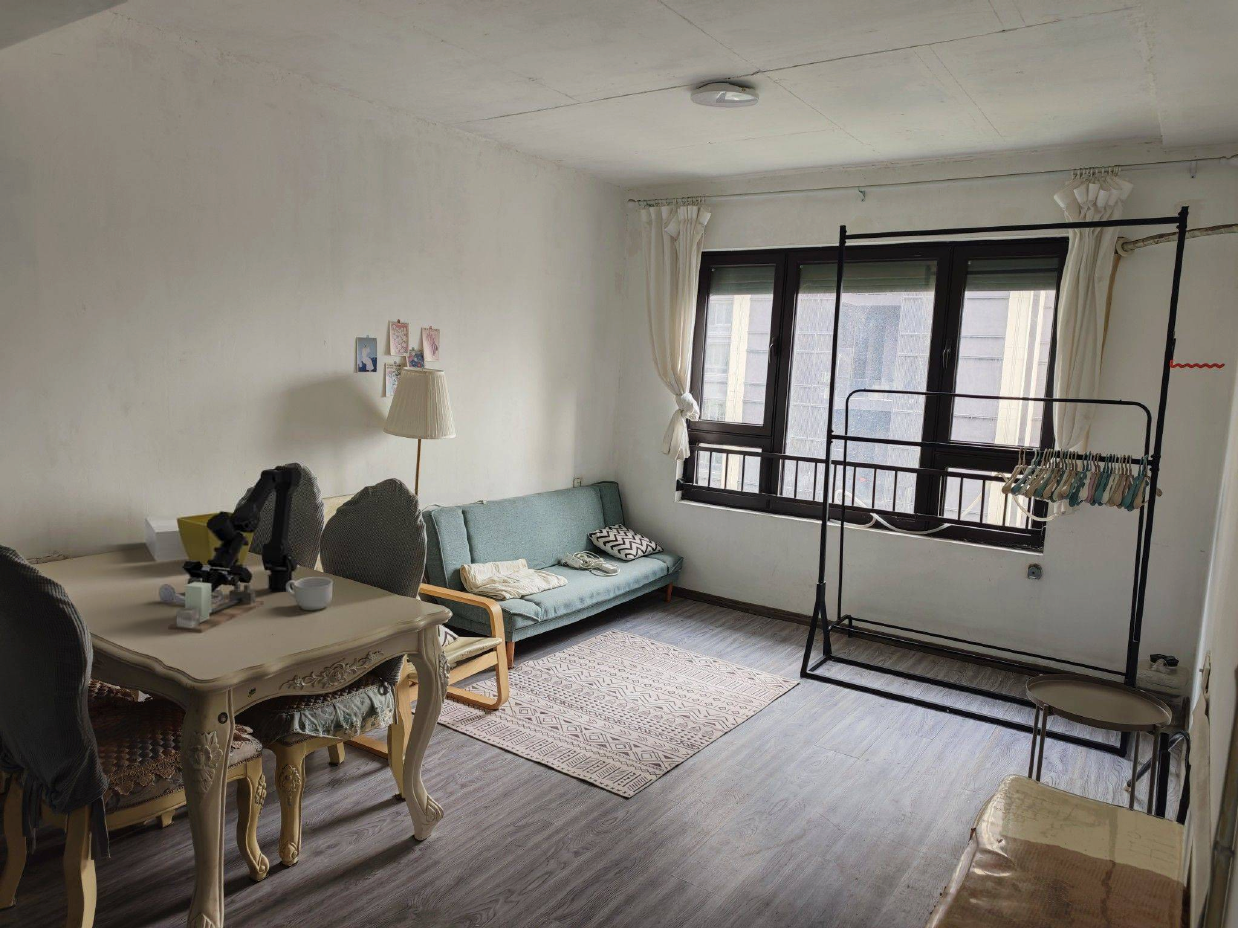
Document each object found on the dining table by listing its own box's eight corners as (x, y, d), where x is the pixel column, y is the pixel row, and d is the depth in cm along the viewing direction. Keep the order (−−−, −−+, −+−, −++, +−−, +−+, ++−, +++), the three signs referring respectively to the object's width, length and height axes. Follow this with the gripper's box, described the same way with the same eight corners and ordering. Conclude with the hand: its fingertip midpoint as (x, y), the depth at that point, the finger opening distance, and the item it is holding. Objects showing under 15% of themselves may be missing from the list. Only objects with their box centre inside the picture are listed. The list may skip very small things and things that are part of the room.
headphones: (141, 597, 253) (196, 616, 247) (144, 579, 252) (198, 598, 247) (186, 583, 269) (239, 601, 264) (189, 566, 268) (241, 584, 263)
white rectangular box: (145, 544, 325) (145, 516, 324) (176, 541, 331) (176, 514, 330) (156, 561, 299) (155, 531, 298) (189, 559, 305) (189, 529, 304)
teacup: (340, 605, 257) (340, 579, 256) (316, 614, 247) (316, 587, 246) (302, 599, 261) (302, 573, 260) (277, 608, 251) (277, 581, 250)
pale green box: (195, 617, 235) (195, 581, 234) (211, 618, 234) (211, 583, 233) (185, 621, 231) (185, 585, 230) (202, 622, 230) (201, 587, 229)
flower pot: (175, 564, 296) (175, 517, 294) (227, 555, 312) (227, 510, 310) (205, 573, 286) (205, 524, 284) (257, 564, 301) (257, 517, 299)
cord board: (233, 601, 256) (233, 580, 255) (263, 604, 254) (263, 583, 253) (167, 629, 228) (167, 605, 227) (201, 632, 226) (200, 609, 226)
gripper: (269, 568, 248) (247, 615, 239) (212, 562, 252) (187, 608, 242) (253, 547, 240) (229, 595, 230) (194, 541, 243) (168, 588, 234)
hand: (203, 597), depth 234 cm, fingers closed, pressing on pale green box
